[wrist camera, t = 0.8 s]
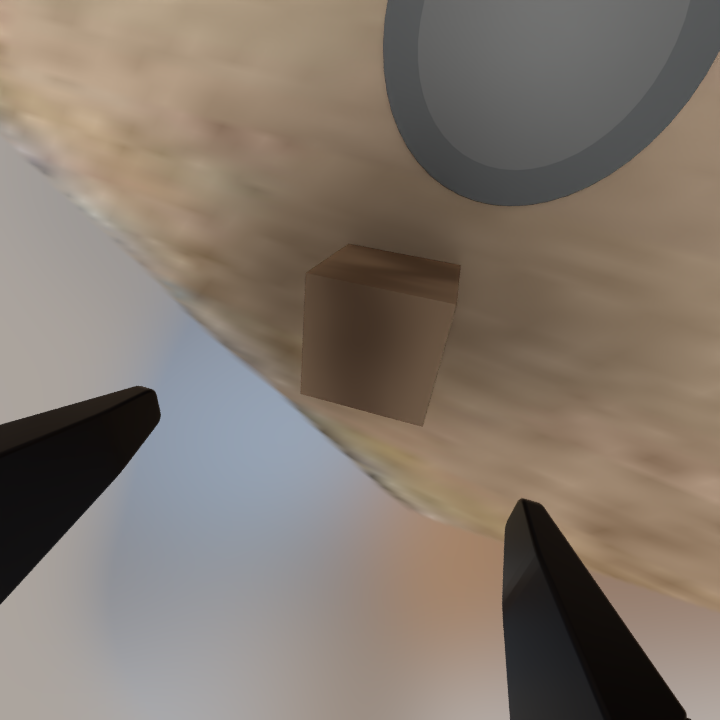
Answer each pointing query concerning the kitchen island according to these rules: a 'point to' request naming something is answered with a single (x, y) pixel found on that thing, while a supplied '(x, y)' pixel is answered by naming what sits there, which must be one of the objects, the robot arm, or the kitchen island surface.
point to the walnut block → (377, 330)
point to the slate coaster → (540, 87)
